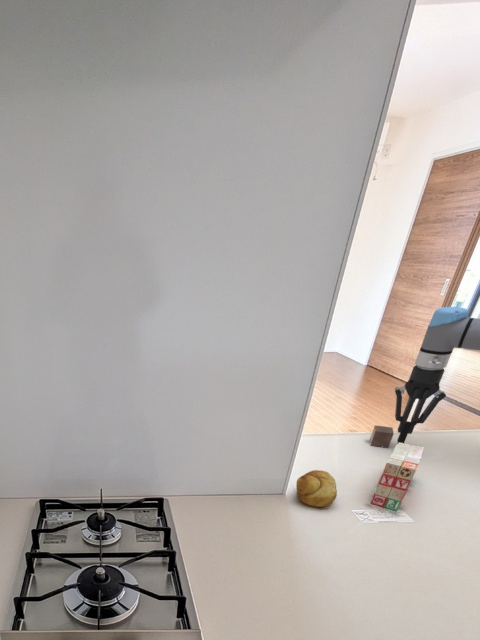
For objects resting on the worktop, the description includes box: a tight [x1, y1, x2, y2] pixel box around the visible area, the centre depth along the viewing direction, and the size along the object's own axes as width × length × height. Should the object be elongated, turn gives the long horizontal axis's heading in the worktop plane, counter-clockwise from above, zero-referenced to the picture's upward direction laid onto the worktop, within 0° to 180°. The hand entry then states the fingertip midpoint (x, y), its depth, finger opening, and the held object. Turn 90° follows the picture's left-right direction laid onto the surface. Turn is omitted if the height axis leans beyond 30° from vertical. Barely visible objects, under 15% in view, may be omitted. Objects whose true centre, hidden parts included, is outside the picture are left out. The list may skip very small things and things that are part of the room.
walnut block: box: [369, 425, 394, 449], centre depth 139 cm, size 5×5×5 cm
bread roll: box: [295, 469, 338, 508], centre depth 114 cm, size 13×10×8 cm
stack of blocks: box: [370, 442, 425, 512], centre depth 114 cm, size 21×6×12 cm, turn 141°
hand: (400, 442), depth 138 cm, fingers closed
